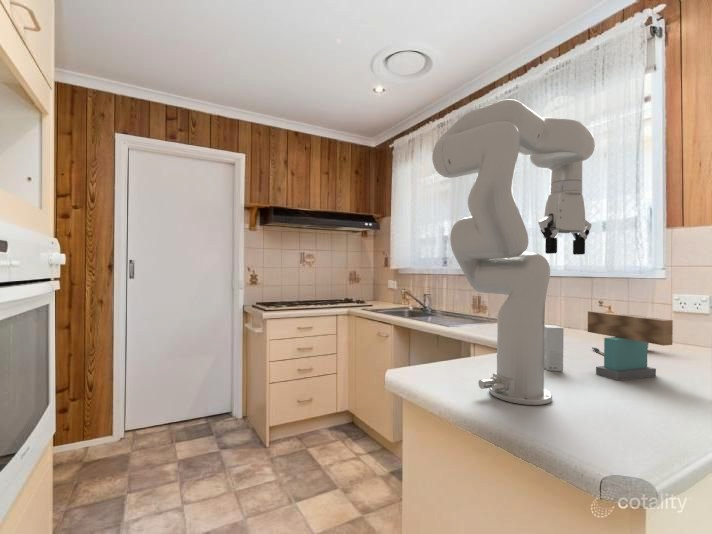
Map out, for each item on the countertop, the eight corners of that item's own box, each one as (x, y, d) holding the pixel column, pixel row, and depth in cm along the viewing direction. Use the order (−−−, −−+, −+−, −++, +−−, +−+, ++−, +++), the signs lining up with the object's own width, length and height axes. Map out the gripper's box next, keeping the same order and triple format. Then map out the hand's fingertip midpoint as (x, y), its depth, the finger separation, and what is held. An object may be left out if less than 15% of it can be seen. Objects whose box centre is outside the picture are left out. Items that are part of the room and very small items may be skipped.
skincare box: (563, 371, 101) (564, 328, 101) (547, 370, 102) (547, 327, 102) (555, 366, 107) (555, 325, 107) (539, 365, 108) (540, 324, 108)
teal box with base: (618, 380, 94) (618, 341, 94) (596, 374, 99) (596, 336, 99) (655, 376, 98) (656, 338, 98) (632, 370, 104) (632, 334, 104)
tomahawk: (639, 369, 109) (639, 365, 109) (613, 365, 111) (613, 362, 111) (610, 352, 129) (610, 349, 129) (588, 349, 131) (589, 346, 131)
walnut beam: (587, 331, 108) (587, 311, 108) (595, 331, 109) (595, 311, 109) (663, 345, 89) (663, 320, 89) (672, 344, 90) (672, 320, 90)
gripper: (577, 195, 105) (577, 255, 105) (529, 190, 99) (528, 253, 99) (602, 190, 98) (602, 254, 98) (552, 184, 92) (551, 252, 92)
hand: (565, 253), depth 98 cm, fingers open, 9 cm apart
